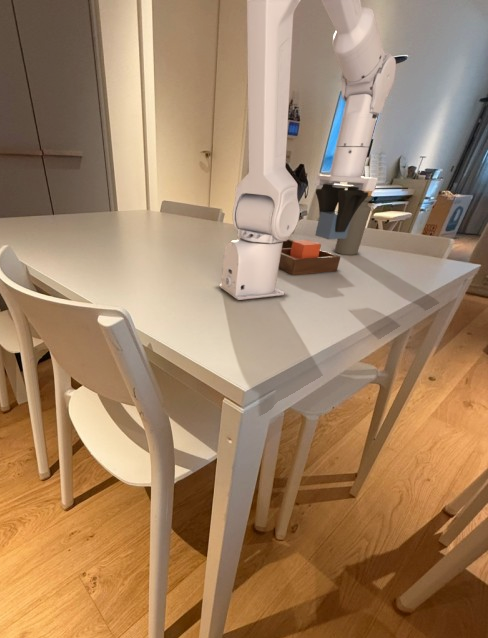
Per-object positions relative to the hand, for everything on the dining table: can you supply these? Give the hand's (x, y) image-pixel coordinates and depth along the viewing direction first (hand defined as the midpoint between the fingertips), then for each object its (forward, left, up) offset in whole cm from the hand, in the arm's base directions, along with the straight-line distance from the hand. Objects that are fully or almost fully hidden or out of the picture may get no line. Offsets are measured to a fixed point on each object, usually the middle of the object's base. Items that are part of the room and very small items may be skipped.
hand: (332, 229), depth 69 cm
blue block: (0, 0, -1) cm, 1 cm away
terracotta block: (-2, +4, -8) cm, 9 cm away
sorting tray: (-2, +9, -8) cm, 13 cm away
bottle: (+19, +14, -9) cm, 25 cm away
